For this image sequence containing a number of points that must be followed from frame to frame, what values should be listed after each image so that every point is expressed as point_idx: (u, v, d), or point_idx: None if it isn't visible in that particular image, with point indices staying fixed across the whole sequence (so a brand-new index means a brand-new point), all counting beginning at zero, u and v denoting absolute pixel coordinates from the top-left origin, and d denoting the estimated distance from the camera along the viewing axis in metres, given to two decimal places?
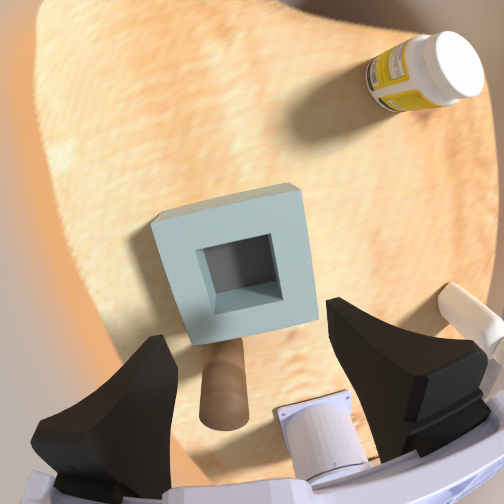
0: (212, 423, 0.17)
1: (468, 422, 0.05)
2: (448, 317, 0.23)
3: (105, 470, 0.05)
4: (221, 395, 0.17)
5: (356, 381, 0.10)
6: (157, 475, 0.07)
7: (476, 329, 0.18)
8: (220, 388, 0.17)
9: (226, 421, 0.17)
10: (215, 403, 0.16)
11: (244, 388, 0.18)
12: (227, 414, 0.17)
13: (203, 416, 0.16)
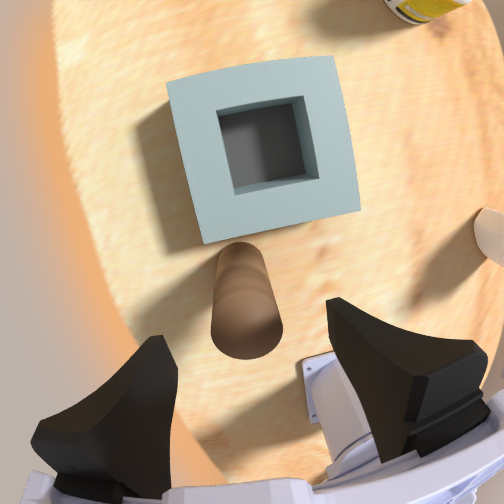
0: (229, 344, 0.13)
1: (468, 422, 0.05)
2: (488, 243, 0.19)
3: (105, 470, 0.05)
4: (244, 294, 0.13)
5: (356, 381, 0.10)
6: (157, 475, 0.07)
7: None
8: (242, 288, 0.13)
9: (249, 340, 0.13)
10: (236, 303, 0.12)
11: (273, 295, 0.14)
12: (252, 325, 0.13)
13: (217, 330, 0.13)
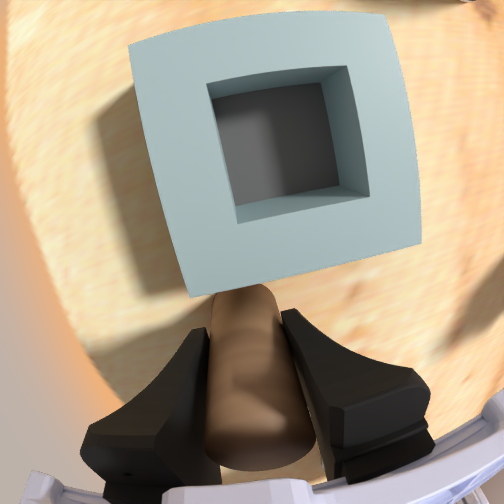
0: (233, 459, 0.07)
1: (405, 455, 0.05)
2: None
3: (174, 474, 0.05)
4: (257, 399, 0.07)
5: (306, 395, 0.10)
6: (212, 474, 0.07)
7: None
8: (252, 383, 0.08)
9: (264, 454, 0.07)
10: (244, 420, 0.06)
11: (299, 382, 0.09)
12: (269, 441, 0.07)
13: (213, 447, 0.07)
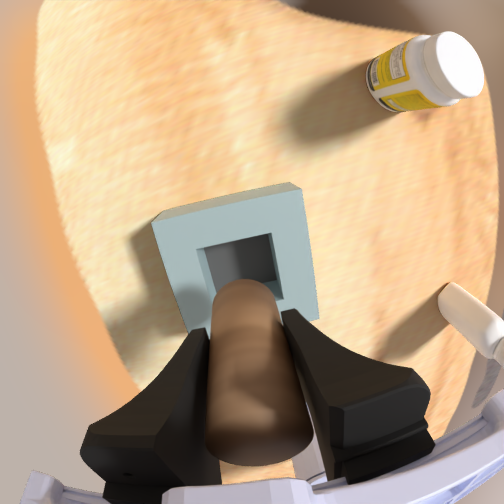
0: (231, 453, 0.07)
1: (405, 455, 0.05)
2: (448, 317, 0.23)
3: (175, 474, 0.05)
4: (259, 395, 0.07)
5: (306, 395, 0.10)
6: (212, 474, 0.07)
7: (476, 329, 0.18)
8: (255, 379, 0.08)
9: (262, 449, 0.07)
10: (247, 414, 0.07)
11: (298, 379, 0.09)
12: (268, 436, 0.07)
13: (214, 440, 0.07)
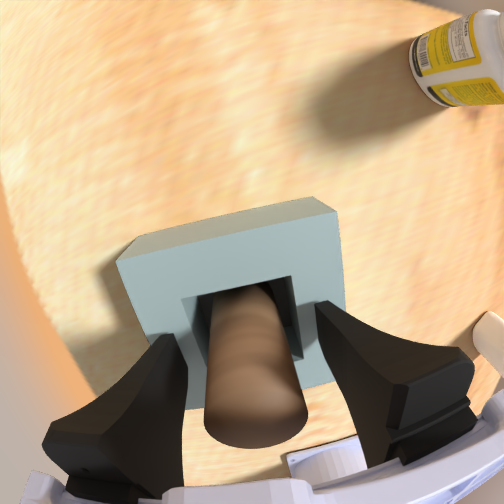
0: (229, 434, 0.08)
1: (453, 431, 0.05)
2: (484, 351, 0.17)
3: (121, 472, 0.05)
4: (255, 374, 0.08)
5: (343, 385, 0.10)
6: (171, 475, 0.07)
7: None
8: (252, 361, 0.09)
9: (259, 430, 0.08)
10: (243, 391, 0.07)
11: (293, 364, 0.10)
12: (264, 416, 0.08)
13: (212, 420, 0.08)
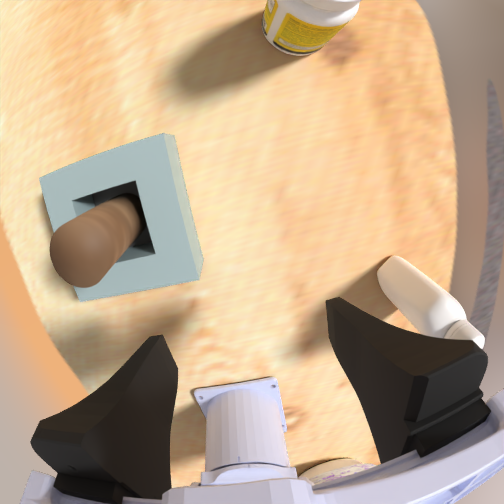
0: (65, 268, 0.12)
1: (468, 422, 0.05)
2: (390, 297, 0.21)
3: (105, 470, 0.05)
4: (78, 218, 0.12)
5: (356, 381, 0.10)
6: (157, 475, 0.07)
7: (417, 309, 0.17)
8: (82, 215, 0.12)
9: (80, 265, 0.12)
10: (65, 224, 0.11)
11: (116, 229, 0.14)
12: (80, 249, 0.12)
13: (54, 252, 0.12)
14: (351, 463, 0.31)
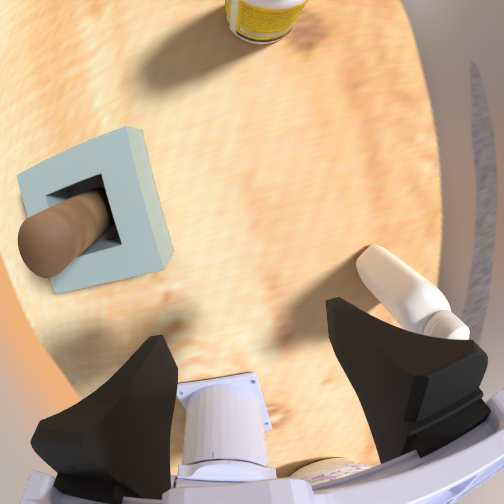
0: (31, 259, 0.12)
1: (468, 422, 0.05)
2: (369, 288, 0.21)
3: (105, 470, 0.05)
4: (41, 212, 0.11)
5: (356, 381, 0.10)
6: (157, 475, 0.07)
7: (394, 299, 0.16)
8: (47, 209, 0.12)
9: (43, 256, 0.12)
10: (30, 217, 0.11)
11: (78, 222, 0.13)
12: (42, 240, 0.11)
13: (21, 244, 0.11)
14: (343, 463, 0.31)
